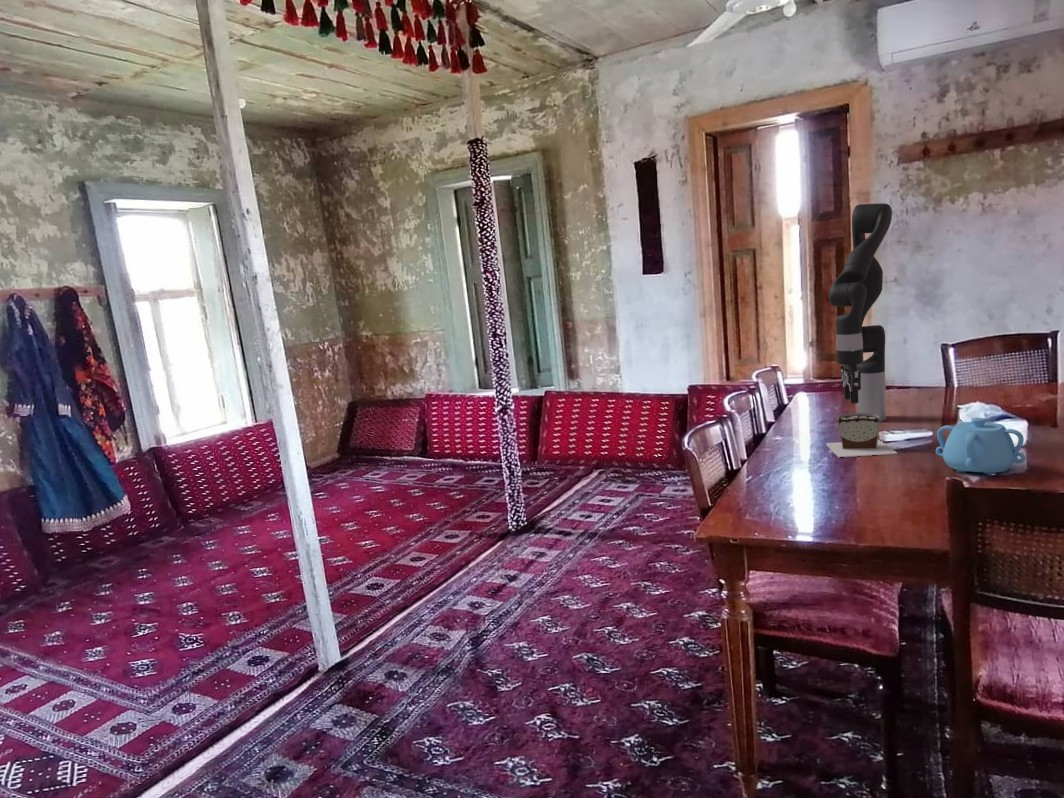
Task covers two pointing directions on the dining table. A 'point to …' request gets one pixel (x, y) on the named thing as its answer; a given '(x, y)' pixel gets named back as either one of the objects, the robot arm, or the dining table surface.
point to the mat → (861, 450)
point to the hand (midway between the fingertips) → (851, 400)
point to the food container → (859, 430)
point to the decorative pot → (980, 447)
